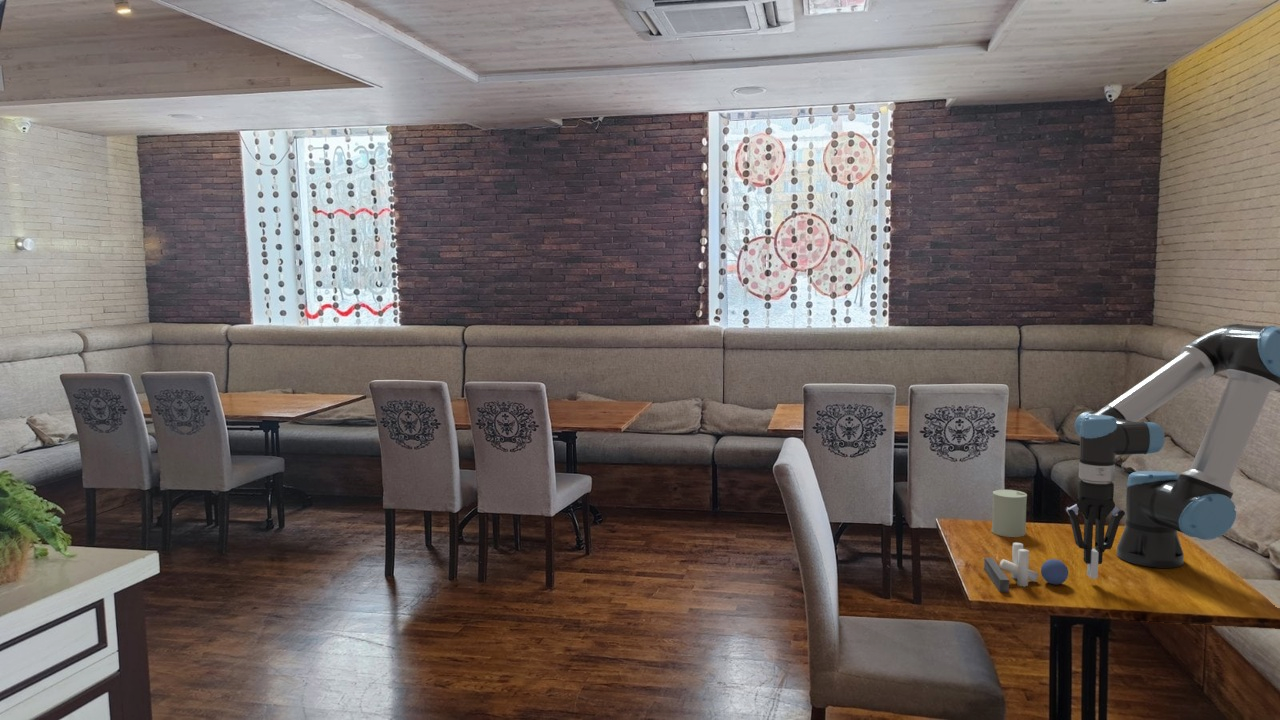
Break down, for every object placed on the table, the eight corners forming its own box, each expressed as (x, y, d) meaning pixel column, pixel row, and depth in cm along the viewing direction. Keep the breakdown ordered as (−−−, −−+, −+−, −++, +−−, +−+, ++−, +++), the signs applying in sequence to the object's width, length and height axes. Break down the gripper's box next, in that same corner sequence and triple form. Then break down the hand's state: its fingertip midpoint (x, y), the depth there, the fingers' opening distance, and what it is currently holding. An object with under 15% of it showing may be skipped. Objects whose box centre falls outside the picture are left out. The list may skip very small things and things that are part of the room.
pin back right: (1020, 576, 219) (1021, 542, 218) (1023, 579, 216) (1024, 545, 216) (1010, 575, 219) (1011, 542, 218) (1013, 579, 217) (1014, 545, 216)
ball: (1032, 561, 216) (1043, 581, 217) (1041, 572, 210) (1053, 593, 211) (1055, 550, 215) (1066, 570, 216) (1065, 561, 209) (1076, 581, 210)
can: (1029, 538, 249) (1030, 496, 248) (994, 536, 251) (995, 495, 250) (1022, 528, 258) (1023, 488, 257) (988, 527, 260) (989, 487, 259)
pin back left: (1026, 583, 214) (1027, 549, 213) (1029, 586, 212) (1030, 552, 211) (1015, 582, 214) (1017, 548, 213) (1018, 586, 212) (1019, 552, 211)
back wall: (992, 569, 224) (992, 557, 224) (1008, 592, 208) (1009, 580, 208) (984, 569, 224) (984, 557, 224) (999, 592, 208) (1000, 579, 208)
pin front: (1036, 571, 216) (1002, 558, 217) (1039, 574, 213) (1005, 560, 214) (1032, 580, 216) (998, 566, 217) (1035, 583, 214) (1001, 569, 215)
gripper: (1072, 483, 208) (1068, 580, 210) (1131, 484, 206) (1127, 583, 208) (1062, 476, 215) (1058, 570, 217) (1119, 477, 213) (1115, 572, 215)
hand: (1092, 576), depth 213 cm, fingers closed
